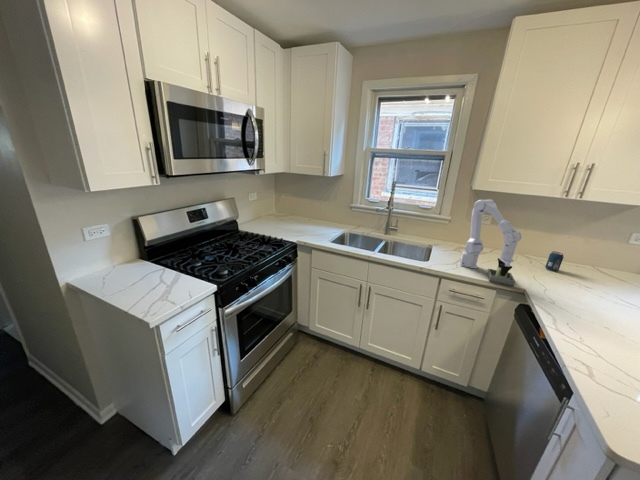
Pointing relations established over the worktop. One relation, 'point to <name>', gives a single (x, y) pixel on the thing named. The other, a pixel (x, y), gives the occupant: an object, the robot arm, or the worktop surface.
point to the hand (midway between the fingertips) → (501, 273)
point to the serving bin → (508, 281)
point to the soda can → (554, 261)
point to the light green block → (499, 273)
